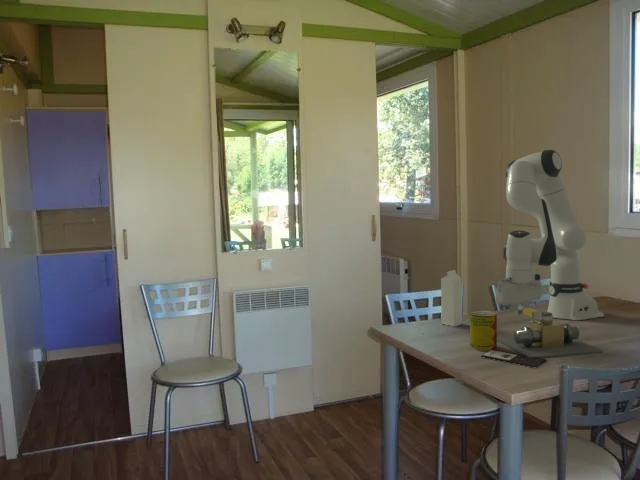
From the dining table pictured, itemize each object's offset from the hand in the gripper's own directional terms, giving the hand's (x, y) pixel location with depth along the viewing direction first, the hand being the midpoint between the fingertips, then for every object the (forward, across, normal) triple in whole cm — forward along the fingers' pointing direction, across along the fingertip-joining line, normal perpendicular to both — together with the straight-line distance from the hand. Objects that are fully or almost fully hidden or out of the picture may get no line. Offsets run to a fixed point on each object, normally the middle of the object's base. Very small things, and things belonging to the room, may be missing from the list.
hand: (518, 314), depth 208 cm
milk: (+10, -3, +31) cm, 33 cm away
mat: (+9, +2, -11) cm, 14 cm away
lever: (+1, +4, -6) cm, 7 cm away
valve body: (+9, +2, -11) cm, 14 cm away
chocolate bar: (+10, -18, -14) cm, 25 cm away
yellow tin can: (+10, -16, +1) cm, 19 cm away
